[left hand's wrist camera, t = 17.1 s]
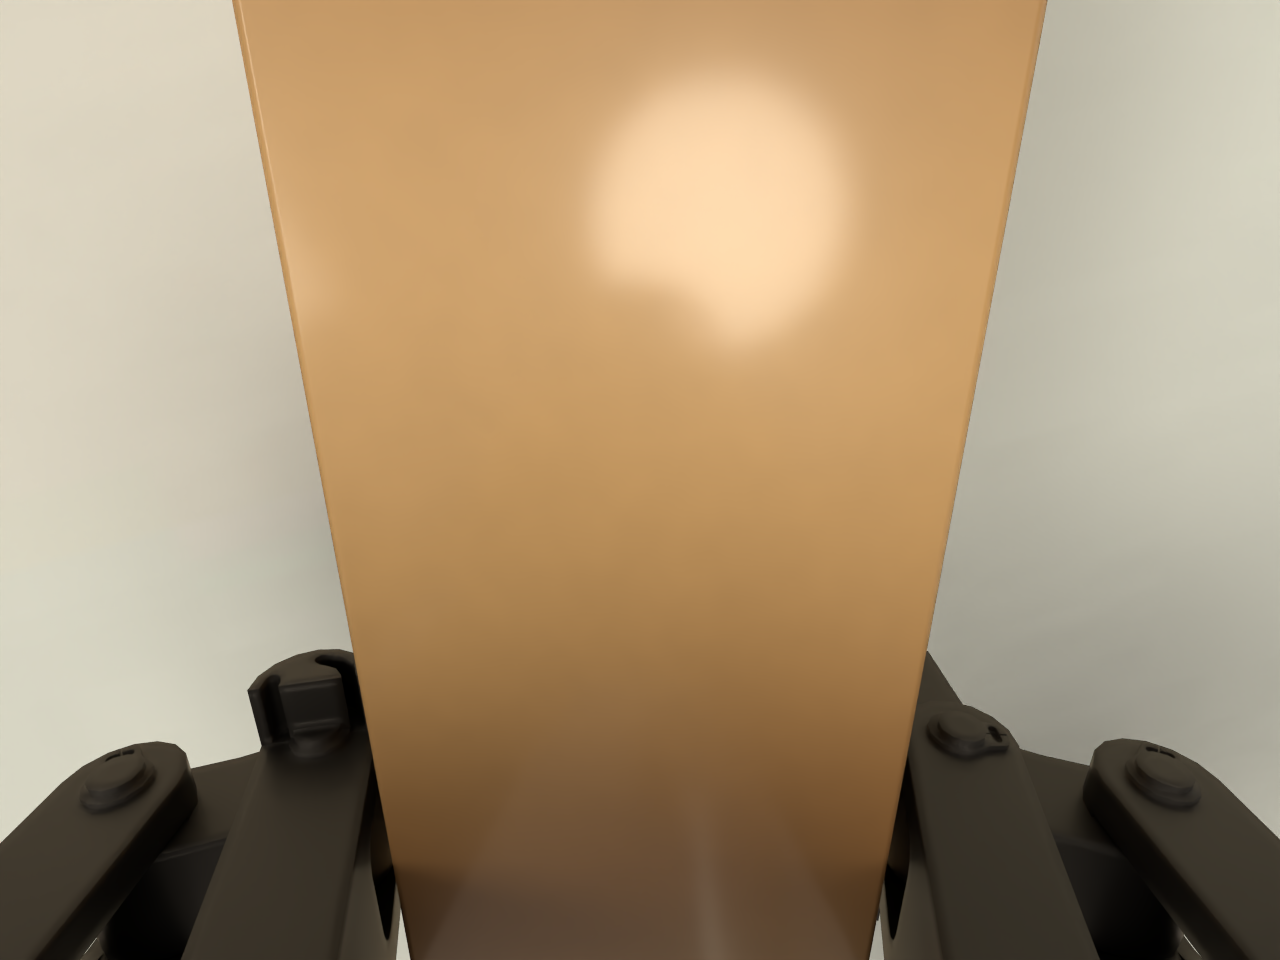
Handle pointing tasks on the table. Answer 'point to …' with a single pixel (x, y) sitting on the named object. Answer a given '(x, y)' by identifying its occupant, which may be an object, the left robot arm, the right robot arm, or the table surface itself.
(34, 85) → the table surface
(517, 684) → the bar
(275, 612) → the table surface
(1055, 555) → the table surface
